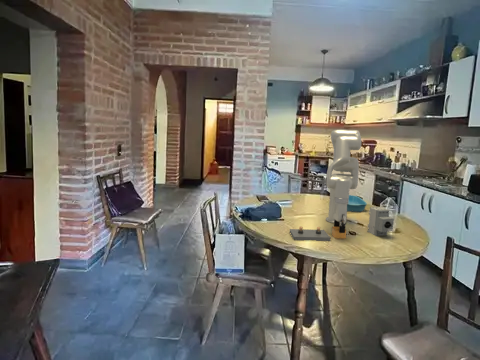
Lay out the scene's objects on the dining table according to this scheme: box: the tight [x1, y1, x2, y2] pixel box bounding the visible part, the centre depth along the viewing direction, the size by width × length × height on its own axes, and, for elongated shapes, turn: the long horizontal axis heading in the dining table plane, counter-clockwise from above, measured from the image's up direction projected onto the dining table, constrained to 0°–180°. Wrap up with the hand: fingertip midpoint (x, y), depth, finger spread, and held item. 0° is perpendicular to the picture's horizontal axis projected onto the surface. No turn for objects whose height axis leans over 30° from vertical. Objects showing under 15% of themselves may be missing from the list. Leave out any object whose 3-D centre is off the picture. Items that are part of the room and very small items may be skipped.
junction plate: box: [289, 226, 331, 242], centre depth 196 cm, size 14×20×6 cm
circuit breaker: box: [366, 206, 395, 237], centre depth 202 cm, size 8×14×15 cm, turn 16°
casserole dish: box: [347, 194, 368, 213], centre depth 271 cm, size 37×22×7 cm, turn 177°
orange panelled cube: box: [331, 226, 347, 240], centre depth 197 cm, size 6×6×5 cm
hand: (339, 230), depth 196 cm, fingers open, 9 cm apart
